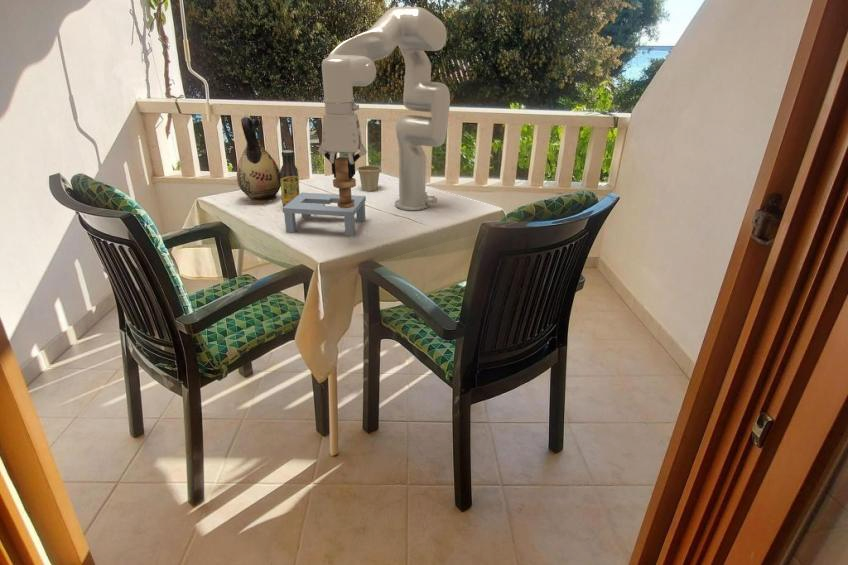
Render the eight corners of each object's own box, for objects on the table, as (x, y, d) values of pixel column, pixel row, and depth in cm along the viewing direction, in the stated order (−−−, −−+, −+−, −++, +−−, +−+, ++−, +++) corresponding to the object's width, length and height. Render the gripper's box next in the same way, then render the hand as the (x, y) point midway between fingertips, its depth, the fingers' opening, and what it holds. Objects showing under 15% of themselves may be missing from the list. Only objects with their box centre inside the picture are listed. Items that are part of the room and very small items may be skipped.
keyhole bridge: (303, 215, 169) (301, 192, 165) (366, 219, 166) (365, 196, 163) (285, 232, 154) (282, 207, 150) (353, 237, 151) (352, 212, 148)
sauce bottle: (284, 211, 172) (278, 153, 163) (280, 206, 177) (274, 150, 168) (303, 208, 175) (298, 152, 166) (298, 203, 180) (293, 148, 171)
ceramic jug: (246, 193, 190) (234, 112, 177) (286, 193, 191) (278, 113, 178) (234, 207, 175) (220, 119, 161) (278, 207, 176) (268, 120, 163)
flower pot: (358, 186, 202) (357, 165, 198) (381, 186, 203) (380, 165, 200) (357, 192, 194) (357, 171, 190) (381, 192, 195) (381, 170, 191)
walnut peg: (359, 202, 145) (356, 156, 139) (354, 209, 140) (351, 162, 133) (338, 201, 146) (334, 155, 140) (332, 208, 140) (328, 161, 134)
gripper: (373, 107, 133) (375, 174, 141) (313, 105, 135) (319, 172, 143) (366, 111, 126) (369, 181, 135) (304, 110, 128) (311, 179, 137)
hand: (344, 176), depth 139 cm, fingers closed on walnut peg, 3 cm apart
